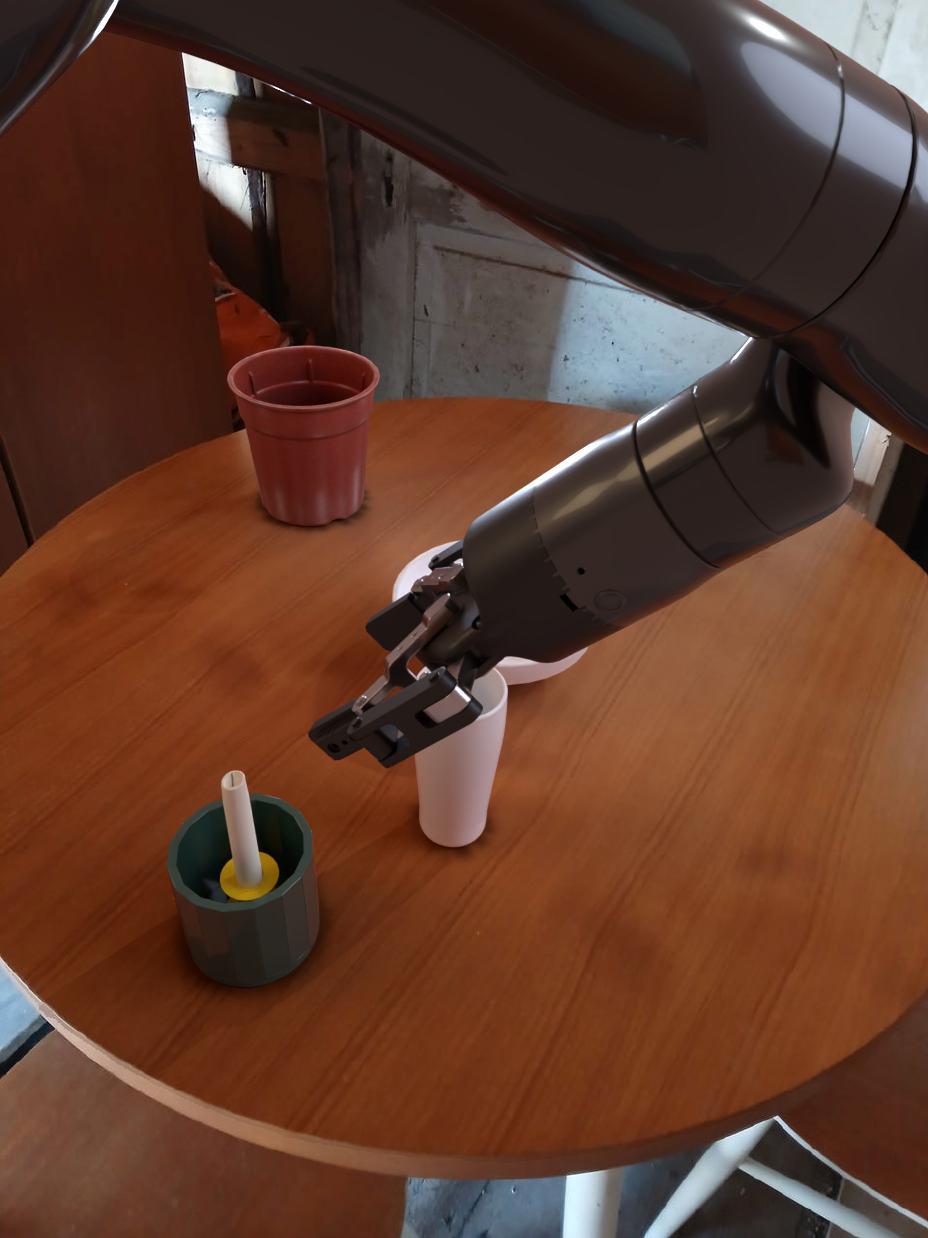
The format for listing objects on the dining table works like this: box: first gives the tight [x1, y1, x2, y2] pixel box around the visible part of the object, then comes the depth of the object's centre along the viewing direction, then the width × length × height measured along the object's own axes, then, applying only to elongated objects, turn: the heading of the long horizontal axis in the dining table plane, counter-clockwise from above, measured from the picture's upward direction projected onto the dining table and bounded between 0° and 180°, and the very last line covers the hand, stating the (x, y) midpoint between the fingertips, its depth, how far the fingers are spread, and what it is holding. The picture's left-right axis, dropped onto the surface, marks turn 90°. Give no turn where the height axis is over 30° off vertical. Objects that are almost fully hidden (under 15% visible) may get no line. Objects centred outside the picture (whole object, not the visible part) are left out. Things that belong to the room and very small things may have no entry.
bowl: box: [391, 540, 590, 686], centre depth 86 cm, size 20×20×7 cm
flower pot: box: [226, 345, 381, 527], centre depth 104 cm, size 16×16×16 cm
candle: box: [220, 770, 279, 904], centre depth 59 cm, size 5×5×16 cm
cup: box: [165, 792, 321, 988], centre depth 62 cm, size 9×9×9 cm
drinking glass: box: [413, 666, 509, 848], centre depth 68 cm, size 7×7×15 cm
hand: (351, 686), depth 48 cm, fingers open, 8 cm apart
